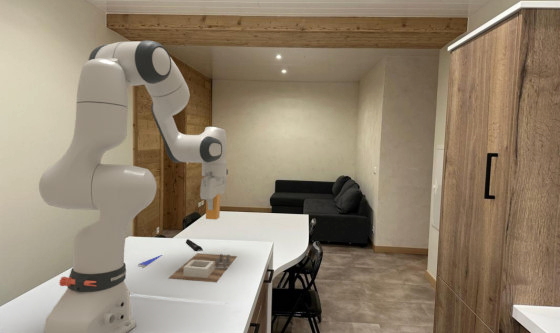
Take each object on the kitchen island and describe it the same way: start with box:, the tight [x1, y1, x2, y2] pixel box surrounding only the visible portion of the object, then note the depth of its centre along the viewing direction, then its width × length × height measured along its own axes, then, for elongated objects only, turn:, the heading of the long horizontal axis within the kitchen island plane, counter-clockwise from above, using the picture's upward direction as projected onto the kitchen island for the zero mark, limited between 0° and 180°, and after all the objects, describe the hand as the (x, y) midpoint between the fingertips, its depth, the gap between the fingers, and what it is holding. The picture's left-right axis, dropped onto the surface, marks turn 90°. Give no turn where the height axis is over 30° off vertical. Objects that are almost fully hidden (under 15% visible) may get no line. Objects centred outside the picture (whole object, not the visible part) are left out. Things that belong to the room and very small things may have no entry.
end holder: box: [183, 260, 215, 278], centre depth 124 cm, size 8×8×3 cm
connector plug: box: [205, 194, 221, 220], centre depth 136 cm, size 4×4×10 cm
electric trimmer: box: [185, 239, 204, 253], centre depth 155 cm, size 4×16×3 cm, turn 32°
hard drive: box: [137, 254, 163, 268], centre depth 136 cm, size 2×8×12 cm
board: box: [168, 252, 238, 283], centre depth 131 cm, size 28×16×5 cm, turn 173°
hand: (212, 208), depth 136 cm, fingers closed on connector plug, 4 cm apart
